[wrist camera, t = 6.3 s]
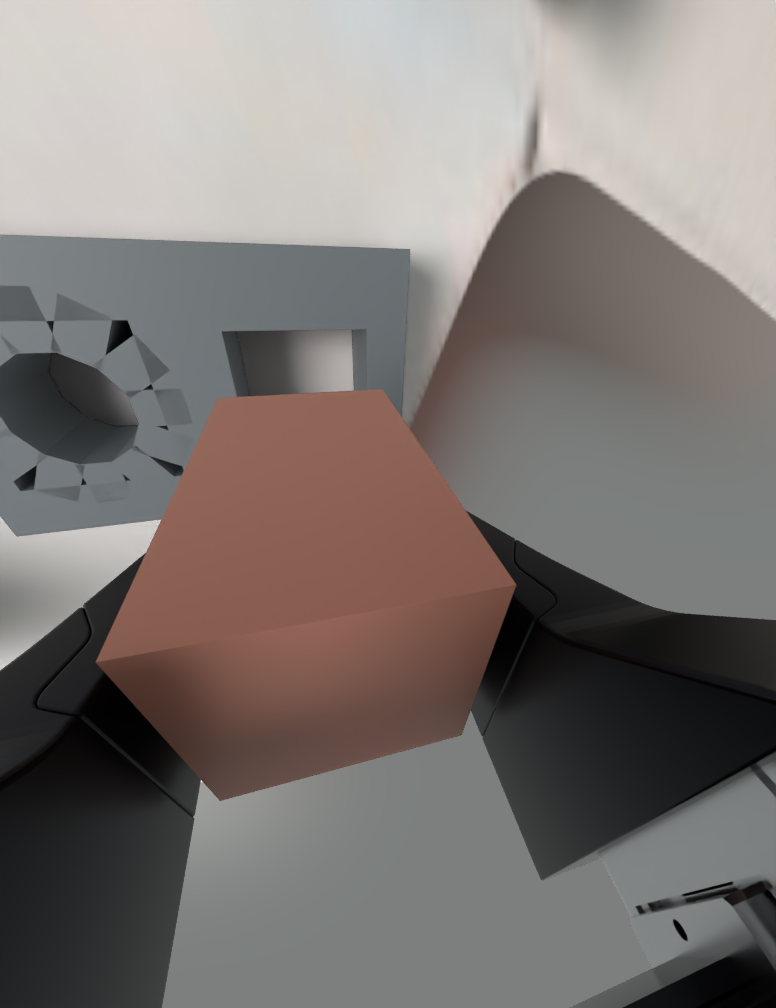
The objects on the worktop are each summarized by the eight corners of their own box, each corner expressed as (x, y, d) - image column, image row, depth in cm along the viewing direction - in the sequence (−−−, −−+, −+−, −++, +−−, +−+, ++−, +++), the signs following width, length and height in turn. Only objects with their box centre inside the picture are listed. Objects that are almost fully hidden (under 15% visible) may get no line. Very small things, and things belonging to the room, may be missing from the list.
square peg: (380, 511, 12) (461, 735, 6) (252, 527, 11) (219, 801, 6) (382, 389, 9) (516, 584, 4) (217, 397, 9) (95, 662, 3)
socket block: (381, 458, 23) (397, 491, 19) (61, 488, 19) (16, 536, 16) (385, 249, 16) (410, 249, 13) (-103, 232, 12) (-233, 226, 9)
